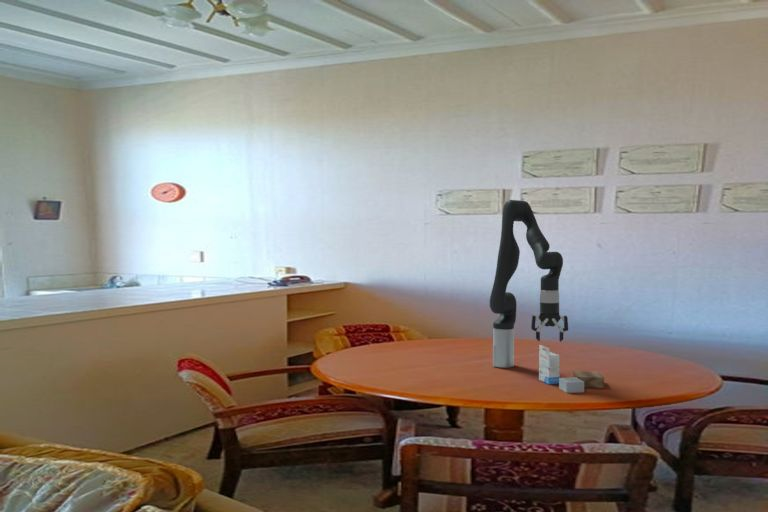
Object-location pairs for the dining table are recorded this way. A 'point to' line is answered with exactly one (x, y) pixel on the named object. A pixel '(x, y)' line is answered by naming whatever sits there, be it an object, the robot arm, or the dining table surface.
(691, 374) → the dining table surface
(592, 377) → the tan block
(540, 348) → the ink box
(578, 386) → the grey block
